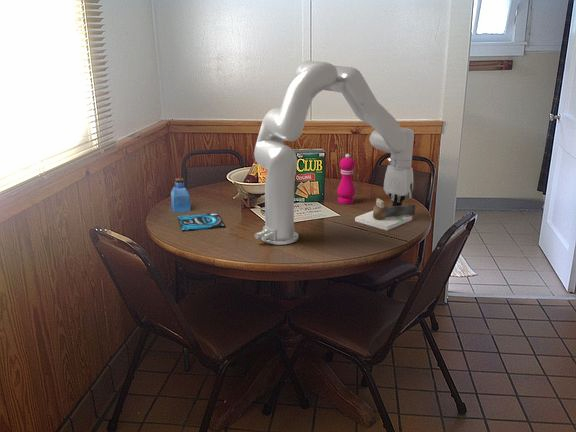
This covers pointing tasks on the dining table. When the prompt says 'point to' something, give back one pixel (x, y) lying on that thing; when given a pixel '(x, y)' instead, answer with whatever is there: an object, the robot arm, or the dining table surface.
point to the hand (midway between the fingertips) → (396, 211)
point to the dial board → (382, 220)
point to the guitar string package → (201, 222)
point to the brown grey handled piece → (391, 210)
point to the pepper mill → (346, 181)
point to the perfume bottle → (180, 197)
